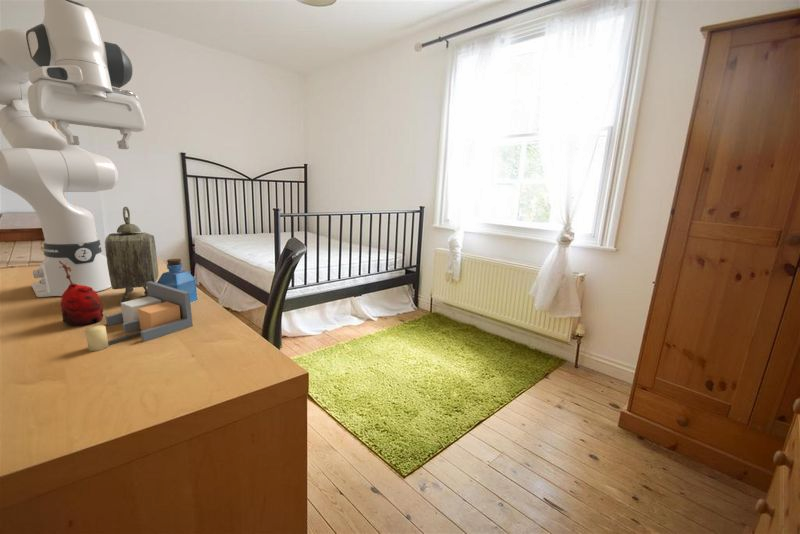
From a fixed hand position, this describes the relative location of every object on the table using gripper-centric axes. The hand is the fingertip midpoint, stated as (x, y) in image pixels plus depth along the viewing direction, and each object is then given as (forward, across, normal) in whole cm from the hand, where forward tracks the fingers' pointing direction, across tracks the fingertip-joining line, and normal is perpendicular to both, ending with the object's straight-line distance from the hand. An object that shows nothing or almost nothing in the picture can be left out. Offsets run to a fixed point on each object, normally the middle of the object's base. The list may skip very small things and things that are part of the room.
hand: (100, 147), depth 80 cm
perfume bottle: (+40, -9, +2) cm, 41 cm away
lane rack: (+41, +3, +12) cm, 42 cm away
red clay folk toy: (+39, +10, -3) cm, 41 cm away
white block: (+40, +2, +8) cm, 41 cm away
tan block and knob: (+41, +7, +15) cm, 44 cm away
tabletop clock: (+38, -7, -12) cm, 41 cm away
